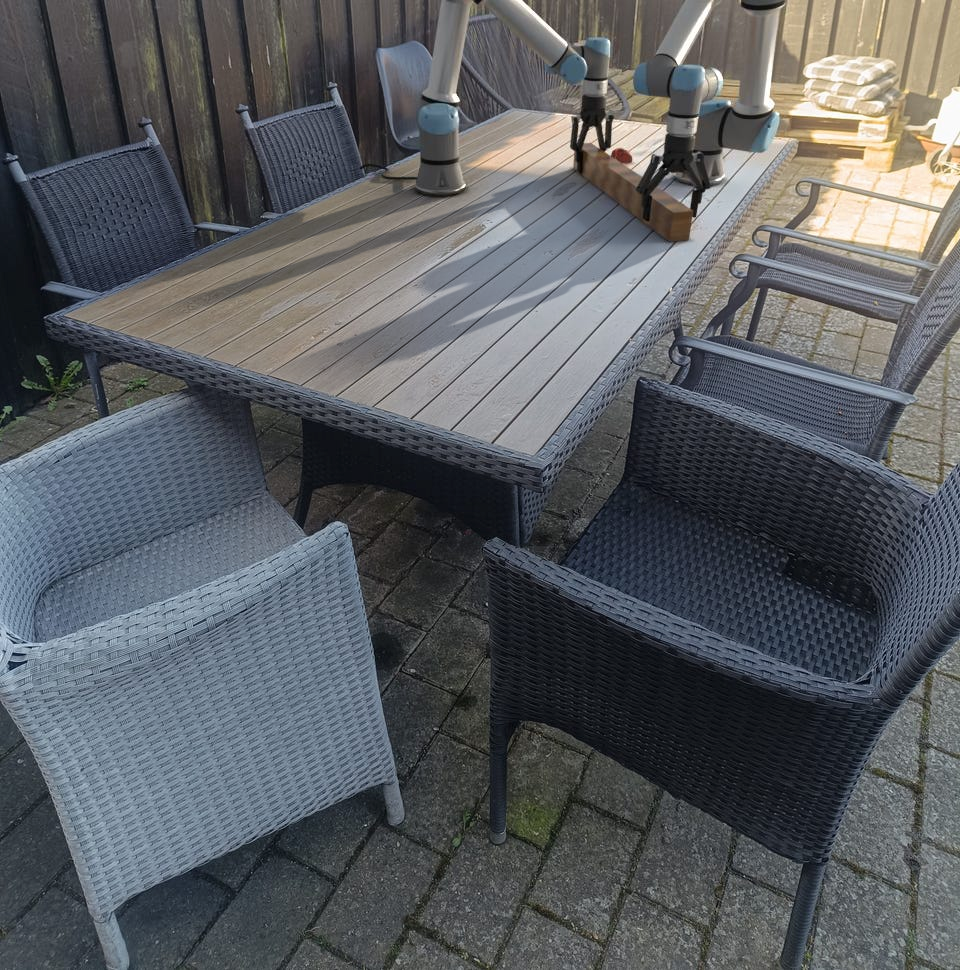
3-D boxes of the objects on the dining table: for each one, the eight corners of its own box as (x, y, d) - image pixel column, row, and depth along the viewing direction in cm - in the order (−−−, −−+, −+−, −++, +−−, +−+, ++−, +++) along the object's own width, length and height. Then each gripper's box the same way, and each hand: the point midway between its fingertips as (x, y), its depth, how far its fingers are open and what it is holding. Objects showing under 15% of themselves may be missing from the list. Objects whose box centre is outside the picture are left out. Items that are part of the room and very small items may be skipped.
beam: (573, 168, 278) (574, 143, 273) (589, 167, 279) (590, 142, 275) (669, 242, 221) (673, 212, 216) (689, 240, 222) (693, 210, 218)
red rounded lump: (625, 144, 285) (634, 150, 279) (624, 157, 288) (633, 163, 282) (609, 146, 284) (618, 152, 278) (609, 159, 287) (617, 165, 281)
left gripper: (570, 98, 254) (565, 177, 268) (627, 95, 258) (619, 172, 272) (561, 93, 260) (557, 170, 274) (617, 90, 264) (611, 166, 278)
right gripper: (641, 140, 206) (631, 226, 219) (732, 134, 212) (718, 218, 224) (629, 133, 212) (620, 217, 225) (718, 127, 218) (705, 210, 230)
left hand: (588, 171), depth 273 cm, fingers closed on beam, 6 cm apart
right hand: (669, 218), depth 224 cm, fingers open, 13 cm apart
